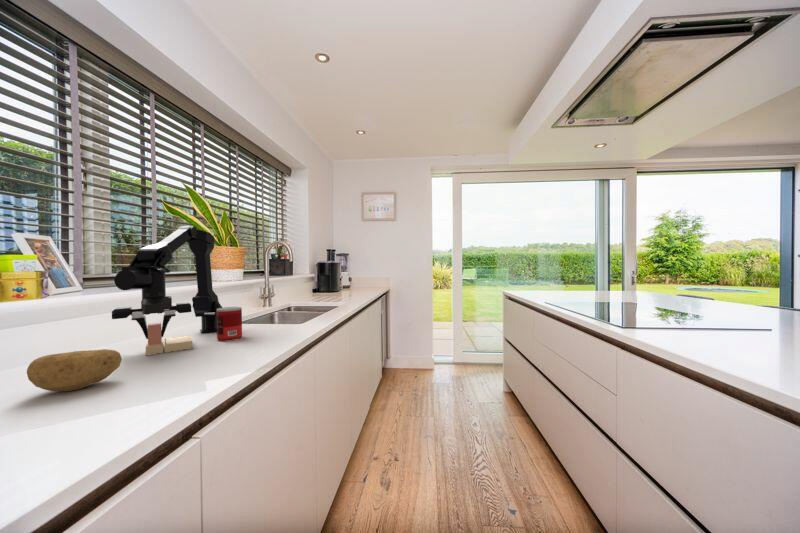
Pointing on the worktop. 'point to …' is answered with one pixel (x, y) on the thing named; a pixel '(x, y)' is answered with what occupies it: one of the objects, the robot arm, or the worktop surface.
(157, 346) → the stub
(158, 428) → the worktop surface
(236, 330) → the canned food
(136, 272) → the robot arm
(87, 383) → the potato
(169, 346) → the hinged cream panel
